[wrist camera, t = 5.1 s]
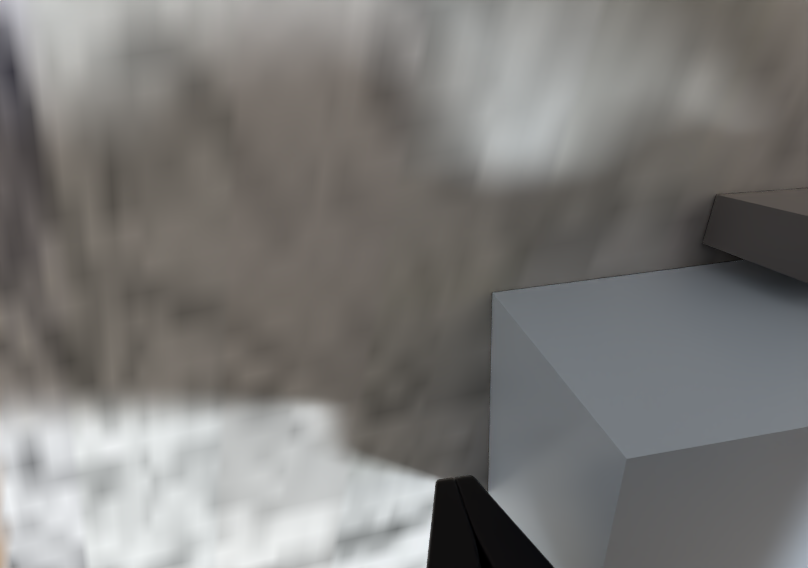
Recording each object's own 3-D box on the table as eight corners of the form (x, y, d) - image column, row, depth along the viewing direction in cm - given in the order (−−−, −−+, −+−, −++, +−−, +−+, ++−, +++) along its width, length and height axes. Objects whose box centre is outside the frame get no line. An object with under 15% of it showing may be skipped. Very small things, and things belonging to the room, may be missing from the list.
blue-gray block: (790, 253, 10) (1138, 368, 6) (721, 451, 13) (917, 630, 9) (492, 292, 10) (627, 458, 5) (488, 494, 12) (571, 714, 8)
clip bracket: (884, 182, 10) (1046, 205, 8) (745, 491, 14) (821, 563, 12) (716, 194, 9) (835, 223, 7) (626, 510, 14) (682, 589, 12)
